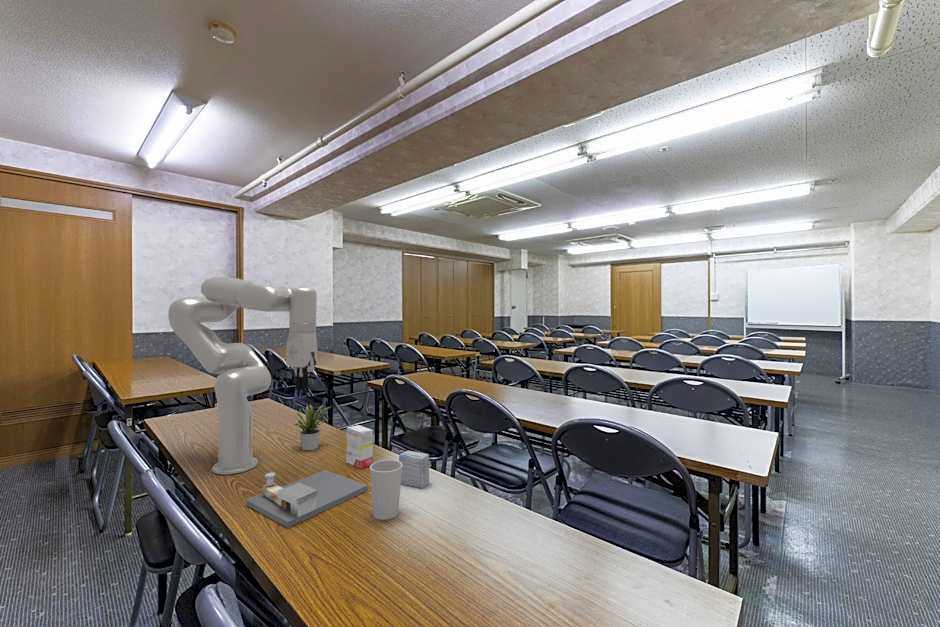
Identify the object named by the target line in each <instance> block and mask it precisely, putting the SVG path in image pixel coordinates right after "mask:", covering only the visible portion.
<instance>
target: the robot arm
mask: <svg viewBox="0 0 940 627" xmlns="http://www.w3.org/2000/svg"><path fill="white" fill-rule="evenodd" d="M200 293H201V294H202V297H197V296H196V297H195V296H191V297H190V296H188V297H181V298H178V299H176V300H174V301H173V302H172V303H171V304H170V306H169V308H168V312H167V313H168V314H167V315H168V321H169V324H170V327H171V329H172V330H173V332H174V333H175V335H176V336H177V337H178V338H179V339H180V340H181V341H182V342H183V343H184V344H185V345H186V346H187V347H188V348H189V350H190V351H191V353H192V354H193V356H195V358H196V359H197V360H198V362H199V364H201V366H202V367H203V369H204V370H205V371H206V372H208V373H209V374H215V375H216V374H217V377H216V379H215V380H214V384H213V386H214V387H213V388H214V393H215V397H216V402H217V421H218V422H217V427H218V429H217V433H218V434H217V438H218V439H217V462H216V463H215V464H214V465H213V466H211V467H212V468H211V469H212V473H214V474H215V475H226V476H227V475H234V474H241V473H245V472H246V471H249V470H252V469H254V468H255V467H256V466H257V465H258V463H259V462H258V461H259V460H258V459H257V458H256V457H254V456H253V409H252V405H251V403H250V401H249V400H248V397H250V396H253V395H257V394H261V393H263V392H265V391H267V390H268V389H269V388H270V386H271V384H272V377H271V376H272V375H271V372H270V370H268V368H267V366H266V365H265V364H264V363H263V361H262V360H261V359H260V358H259V357H258V355H257V354H256V353H255V351H254V350H253V349H252V348H251V347H250V346H248V345H247V344H246V343H245V344H244V343H242V342H233V343H232V342H230V343H226V342H223V341H222V340H221V339H220V338H219V337H218V336H217V334H216V332H214V331H213V330H212V329H211V328H209V327H207V326H206V325H204V323H219V322H222V321H224V320H226V319H228V318H229V317H230V316H232V314H234V312H236V311H237V310H238V309H239V308H242V309H247V310H252V311H259V312H267V313H268V312H270V313H271V312H274V313H275V312H278V313H279V312H280V313H282V312H284V313H286V312H287V313H288V312H289V316H288V317H289V324H288V326H289V328H288V331H289V332H288V336H287V340H286V350H285V364H286V365H287V366H289V367H290V368H291V369H292V370H293V371H294V376H295V390H296V391H305V390H308V389H309V377H310V374H311V372H314V371H315V367H316V366H317V364H318V355H319V354H318V339H317V303H318V302H317V297H318V296H317V295H318V294H317V291H316V290H315V289H314V288H309V287H286V286H285V287H284V286H283V287H282V286H273V285H271V286H270V285H261V284H254V283H253V282H252V281H251V280H245V279H242V278H235V277H224V276H211V277H209V278H207V279H205V280H204V281H203V282H202V284H201V286H200ZM202 323H203V324H202Z"/></svg>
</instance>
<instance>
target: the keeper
mask: <svg viewBox="0 0 940 627" xmlns="http://www.w3.org/2000/svg"><path fill="white" fill-rule="evenodd" d="M277 497H278V498H280V499H282V500H284V501H287V502H289V503H291V514H292V515H294V516H296V517H300V516H302V515H304V514H306V513H308V512H311V511H313V510H315V509H316V497H318V490H316V489H313V488H311V487H309V486H306V485H304V484H302V483H297V484H294V485H292V486H289V487H286V488H284V489H281V490H279V491H277Z"/></svg>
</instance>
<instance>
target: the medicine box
mask: <svg viewBox="0 0 940 627" xmlns="http://www.w3.org/2000/svg"><path fill="white" fill-rule="evenodd" d="M398 461H399V462H401V463H402V475H401V485H404V486H408V485H409V487H413V486H414V487H413V488H418V487H419V488H420V489H423V488H424V487H426V486H427V485H428V484H430V454H429V453H424V452H418V451H413V450H405V451H403V452H402V453H401V454H399V455H398ZM419 488H418V489H419Z"/></svg>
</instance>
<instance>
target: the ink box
mask: <svg viewBox="0 0 940 627" xmlns="http://www.w3.org/2000/svg"><path fill="white" fill-rule="evenodd" d="M373 442H374V430H373V429H371V428H368V427H365V426H363V425H359V424H358V425H353V426H347V427H346V455H345V456H346V459H345V460H346V461H345V462H346V463H347V464H348V463H349V465H350V466H354V467H357V468H358V469H364V468H367V467H370V465H371V464H373V463H374V462H373V460H374V459H373V458H374V457H373V454H374V450H373V449H374V443H373Z"/></svg>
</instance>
